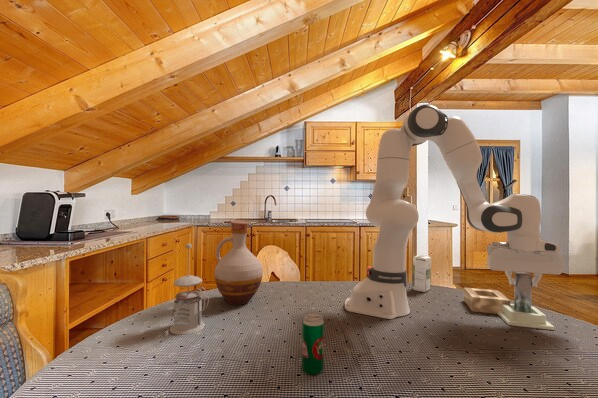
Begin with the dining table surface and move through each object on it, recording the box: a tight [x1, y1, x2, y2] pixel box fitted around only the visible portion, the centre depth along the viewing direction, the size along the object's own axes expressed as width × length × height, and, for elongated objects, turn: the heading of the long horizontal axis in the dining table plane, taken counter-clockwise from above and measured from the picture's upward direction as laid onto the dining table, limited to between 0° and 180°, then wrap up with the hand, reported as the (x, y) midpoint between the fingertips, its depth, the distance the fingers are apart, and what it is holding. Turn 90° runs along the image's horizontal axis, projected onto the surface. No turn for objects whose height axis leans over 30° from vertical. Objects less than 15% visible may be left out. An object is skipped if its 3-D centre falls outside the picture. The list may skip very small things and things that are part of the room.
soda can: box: [301, 313, 325, 376], centre depth 67 cm, size 5×5×12 cm
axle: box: [513, 272, 533, 313], centre depth 96 cm, size 4×4×12 cm
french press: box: [169, 243, 210, 336], centre depth 87 cm, size 10×12×25 cm
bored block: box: [463, 287, 511, 315], centre depth 107 cm, size 12×12×5 cm
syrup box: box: [411, 254, 432, 293], centre depth 127 cm, size 6×6×14 cm
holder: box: [497, 303, 555, 331], centre depth 96 cm, size 12×12×4 cm
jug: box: [214, 220, 264, 306], centre depth 111 cm, size 20×18×30 cm
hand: (523, 285), depth 96 cm, fingers closed on axle, 4 cm apart
